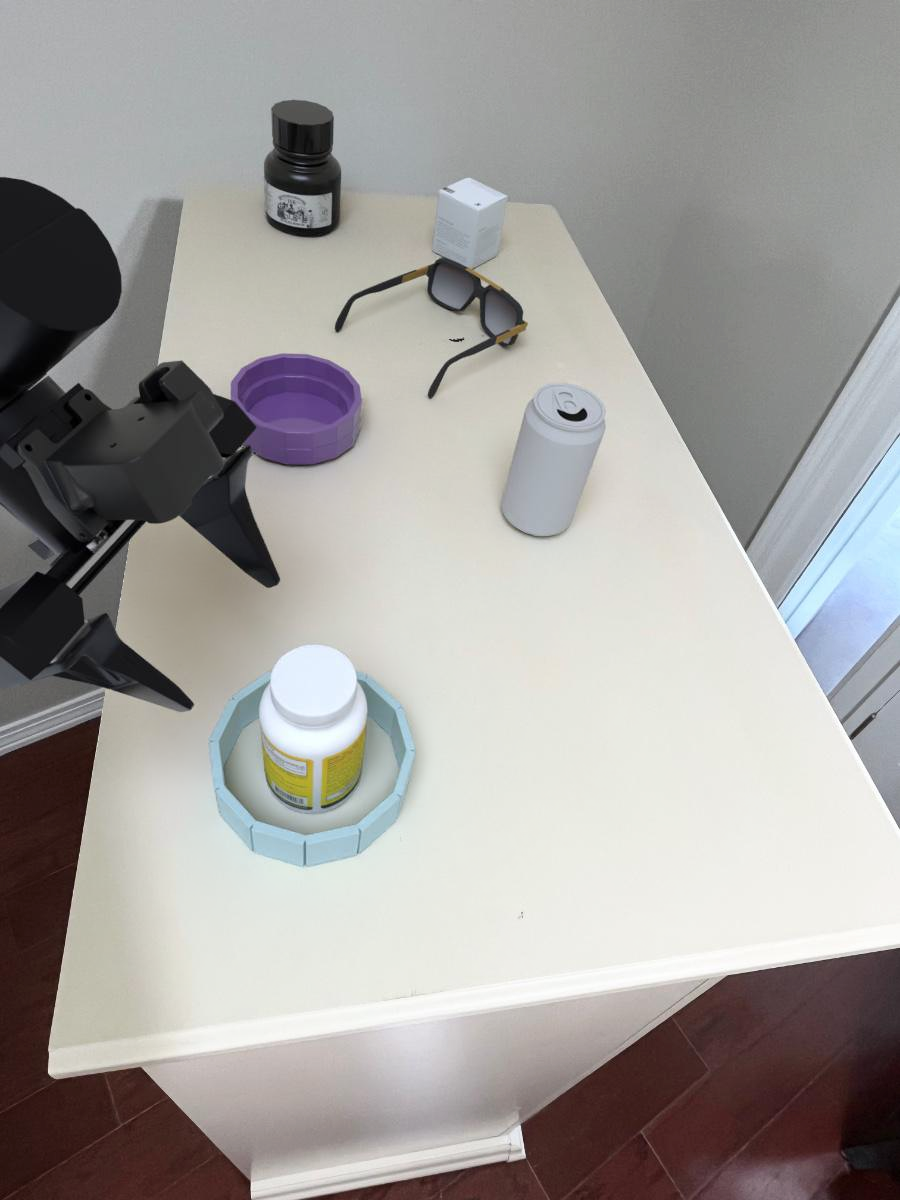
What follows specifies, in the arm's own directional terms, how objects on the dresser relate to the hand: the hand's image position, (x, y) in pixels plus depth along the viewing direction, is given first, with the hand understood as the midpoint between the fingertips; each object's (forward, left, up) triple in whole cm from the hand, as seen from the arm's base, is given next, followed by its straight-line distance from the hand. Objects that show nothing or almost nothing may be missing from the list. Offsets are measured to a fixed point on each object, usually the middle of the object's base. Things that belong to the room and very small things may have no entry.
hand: (234, 642), depth 43 cm
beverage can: (+15, +28, -11) cm, 34 cm away
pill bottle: (+5, -1, -11) cm, 13 cm away
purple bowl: (-8, +31, -11) cm, 34 cm away
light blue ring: (+5, -1, -11) cm, 12 cm away
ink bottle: (-21, +68, -11) cm, 73 cm away
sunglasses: (0, +50, -11) cm, 52 cm away
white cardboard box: (-1, +70, -11) cm, 71 cm away
